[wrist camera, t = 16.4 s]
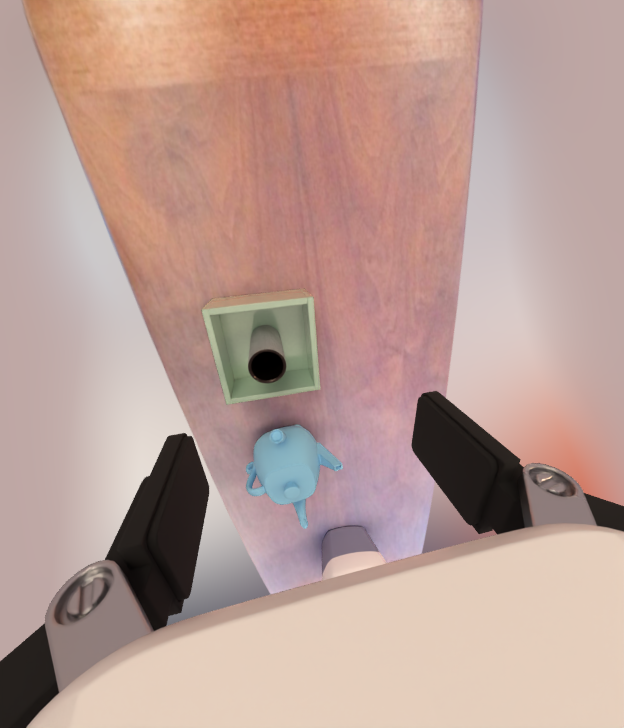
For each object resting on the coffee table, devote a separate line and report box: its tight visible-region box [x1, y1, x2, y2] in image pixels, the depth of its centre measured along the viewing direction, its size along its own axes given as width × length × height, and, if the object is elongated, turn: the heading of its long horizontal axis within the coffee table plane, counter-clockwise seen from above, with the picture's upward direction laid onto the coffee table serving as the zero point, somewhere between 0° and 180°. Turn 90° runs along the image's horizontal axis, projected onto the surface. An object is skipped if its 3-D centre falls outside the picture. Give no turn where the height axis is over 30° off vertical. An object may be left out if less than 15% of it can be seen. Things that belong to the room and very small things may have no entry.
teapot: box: [246, 425, 343, 529], centre depth 45 cm, size 15×14×11 cm
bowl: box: [322, 526, 386, 580], centre depth 62 cm, size 15×15×11 cm
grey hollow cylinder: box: [248, 325, 286, 384], centre depth 35 cm, size 4×4×10 cm
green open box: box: [201, 288, 320, 405], centre depth 38 cm, size 14×14×7 cm
